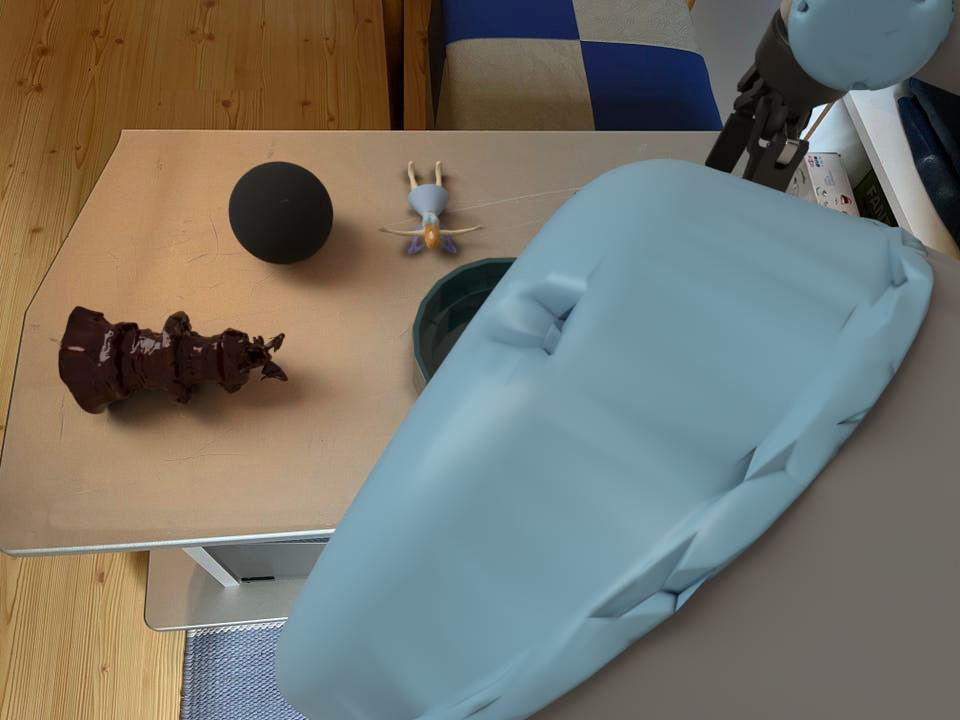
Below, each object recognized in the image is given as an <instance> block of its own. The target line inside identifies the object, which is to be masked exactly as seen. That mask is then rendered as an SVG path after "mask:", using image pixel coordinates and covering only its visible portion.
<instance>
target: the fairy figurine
mask: <svg viewBox="0 0 960 720" xmlns="http://www.w3.org/2000/svg"><path fill="white" fill-rule="evenodd" d="M407 166H408V168H407V169H408V170H407V176H408V179H409V180H410V189H411V191H410V192H409V193H408V196H407V202H408V204H409V206H410V208H412V209H413V211H415V212H416V213H417V214H418V215H419V216H420V217H421V218H422V222H421V223H422V224H420V225H418V226H417V227H416V228H415V229H414V230H410V231H409V230H408V231H405V230H395V229H394V230H392V229H388V228H385V227H383V226H381V225H379V227H378V226H376V227H375V230H377V232H380V233H389V234H392V235H397V236H401V237H413V239H412V241H411V246H410V248H409V249H408V254H409V255H411V254H415V253H417V252H419V251H420V250H421V249H423V247H424V246H425V245H426V246H425V247H427V249H429V250H430V249H431V250H434V249H436V248H437V247H438V246H439V244H440V245H441V247H443V248H444V249H445V250H446V251H447V252H449V253H454V254H456V253H457V249H456V248H455V246H454V245H453V242H452V240H451V237H450V236H460V235H463V234H468V233H471V232H476V231H482V230H485V228H486V227H487V225H486V224H484V225H483V224H481V223H480V224H479V225H477V226H475V227H472V228H471V227H470V228H464V229H457V230H449V229H448V228H447V227H446V225H443V224H441V223H440V219H439V216H440V214H441V213H442V211H444V209H445V208H446V206H447V205H448V204H449V201H450V195H449V192H448V191H447V190H446V189H445V187H443V183H442V176H443V162H442V161H441V160H437V161H436V162H435V171H434V172H435V173H434V175H435V177H436V178H435V179H436V181H435V184H433V183H427V184H425V183H424V184H421V185H418V183H417V180H416V177H415V176H416V172H415V171H416V169H415V162H414V161H412V160H410V161H409V162H408V164H407ZM421 228H422V229H421ZM440 228H443V229H440ZM440 237H443V238H444V237H445V238H446V241H447V245H445V244H446V242H443V243H444V244H442V243H441V242H440V241H439V240H441V241H443V240H444V241H445V239H443V238H440ZM418 238H423V239H422V240H421V241H422V242H423V241H425V242H424V243H423V244H422V242H418V240H417V239H418ZM417 242H418V243H417ZM418 244H419V246H417V245H418ZM421 244H422V245H421Z"/></svg>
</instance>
